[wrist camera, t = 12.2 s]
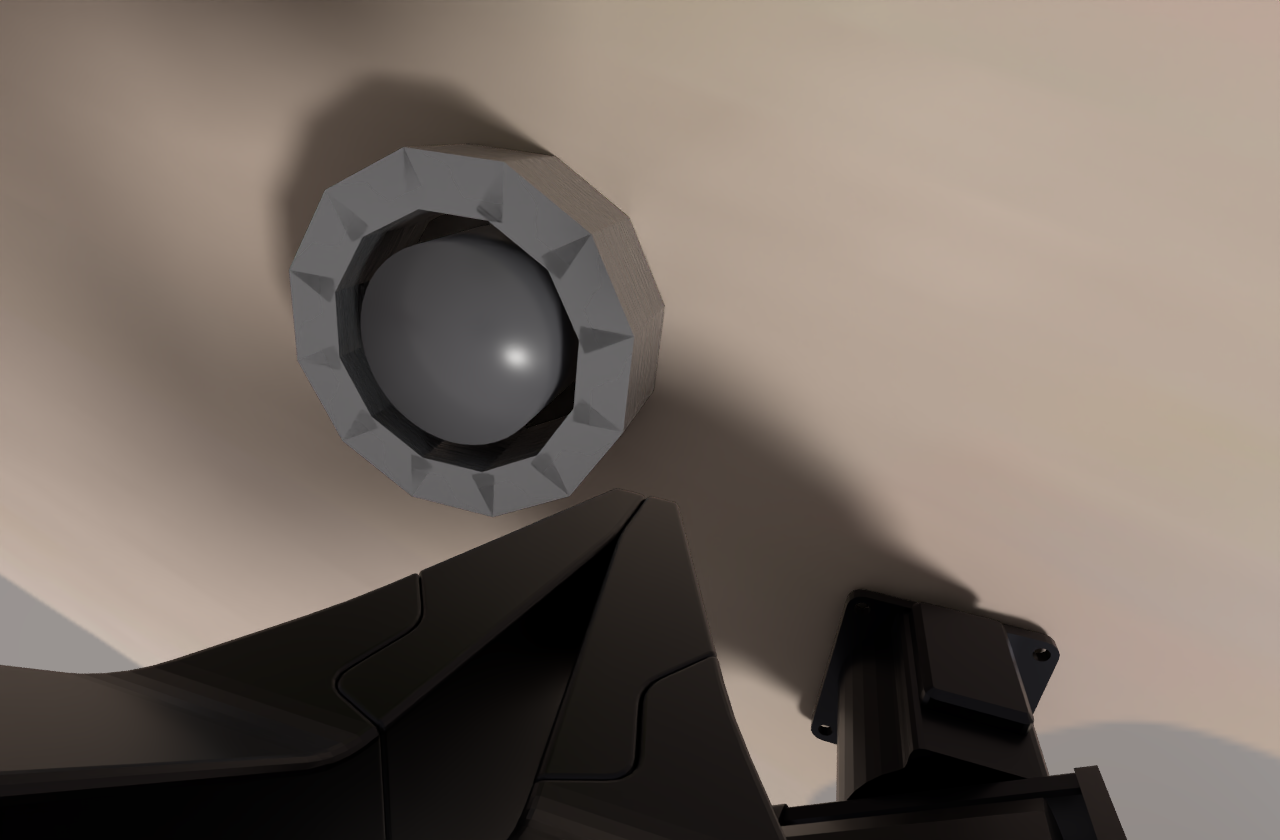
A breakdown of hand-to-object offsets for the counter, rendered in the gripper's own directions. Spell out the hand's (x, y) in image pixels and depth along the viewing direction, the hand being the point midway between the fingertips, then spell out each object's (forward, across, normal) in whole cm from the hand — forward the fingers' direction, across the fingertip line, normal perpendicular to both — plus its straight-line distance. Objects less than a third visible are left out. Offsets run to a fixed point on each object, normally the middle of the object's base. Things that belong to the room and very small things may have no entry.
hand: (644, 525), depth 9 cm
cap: (+13, +8, +2) cm, 15 cm away
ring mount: (+13, +8, +2) cm, 15 cm away
